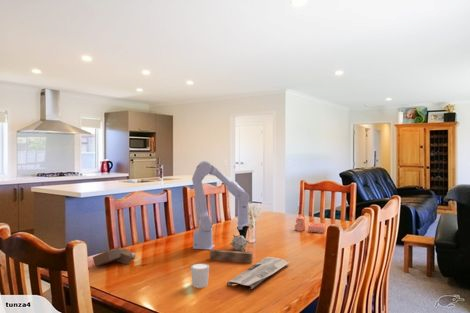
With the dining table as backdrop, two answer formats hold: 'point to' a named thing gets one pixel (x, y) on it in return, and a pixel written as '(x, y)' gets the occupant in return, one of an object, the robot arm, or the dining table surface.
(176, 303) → the dining table surface
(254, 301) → the dining table surface
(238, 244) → the game die
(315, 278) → the dining table surface
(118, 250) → the grey angled block
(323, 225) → the pottery
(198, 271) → the white short cylinder
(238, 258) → the batten
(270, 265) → the newspaper
